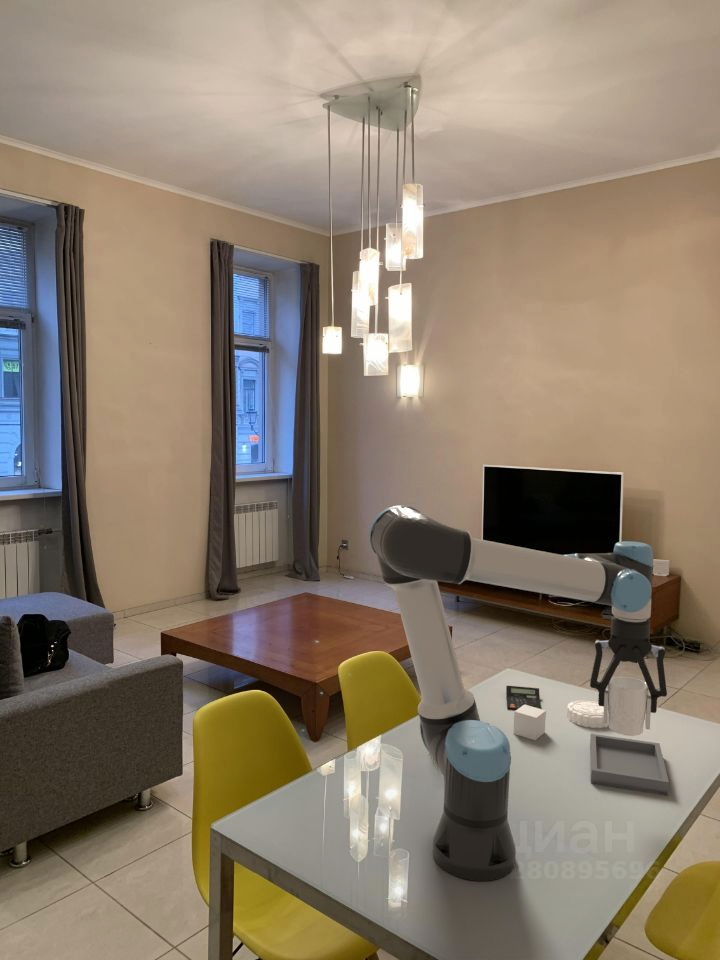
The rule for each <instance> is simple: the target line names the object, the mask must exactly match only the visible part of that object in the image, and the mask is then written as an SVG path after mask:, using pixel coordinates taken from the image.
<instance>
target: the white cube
mask: <svg viewBox="0 0 720 960" xmlns="http://www.w3.org/2000/svg"><path fill="white" fill-rule="evenodd" d="M513 711H514V714H513V715H514V717H513V734H514V735H517V736H519V737H522V738H526V739H529V740H534V741H536V740H537V739H539V738H541V736H543V734H545V733H546V718H547V716H546V715H547V710H545V709H542V708H541V709H539V708H535V707H531V706H528V705H523V706H522V707H520V708H519V709H517V710H513Z"/></svg>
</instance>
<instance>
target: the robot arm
mask: <svg viewBox="0 0 720 960" xmlns="http://www.w3.org/2000/svg"><path fill="white" fill-rule="evenodd" d="M368 537H369V543H370V547H371V550H372V551H373V552H374V553H375V555H376V557H377V560H378V564H379V568H380V573H381V576H382V580H383V582H384V584H385V585H387V586H388V587H389V588H390V587H391V589H393V592H394V593H395V599H396V603H397V606H398V609H399V610H398V611H399V614H400V617H401V618H400V619H401V622H402V625H403V628H404V632H405V636H406V640H407V644H408V649H409V652H410V656H411V659H412V663H413V666H414V667H413V668H414V671H415V674H416V678H417V683H418V687H419V690H420V694H421V697H422V699H421V700H420V701H419V704H418V705H417V712H418V717H419V719H420V721H419V733H420V736H421V741H422V742H423V745H424V747H425V749H426V750H427V751H428V753H429V754H430V755H431V757H432V759H433V761H434V762H435V764H436V766H437V768H438V769H439V771H440V772H441V774H442V776H443V779H444V780H443V781H444V790H443V791H444V792H443V793H444V794H443V811H442V815H441V818H440V820H439V823H438V825H437V827H436V830H435V832H434V836H433V839H432V856H433V858H434V861H435V862H436V864H437V865H438V866H439V867H440V868H441V869H443V870H444V871H445V872H447V873H449V874H451V875H452V876H456V877H458V878H461V879H465V880H469V881H478V882H488V881H494V880H498V879H501V878H503V876H504V877H505V875H506V876H507V875H509V874H510V873H511V872H512V871H513V870H512V869H514V868H515V866H516V858H517V857H516V854H517V851H516V850H517V849H516V845H515V840H514V837H513V835H512V829H511V826H510V824H509V820H508V810H509V795H510V794H509V791H510V775H511V773H510V772H511V764H512V755H511V745H510V741H509V738H508V736H507V735H506V734H505V733H504V732H503V731H502V730H501V729H500V728H499V727H497V726H496V725H490V723H489V722H485V721H483V720H482V721H481V719H480V715H479V709H478V706H477V701H476V698H475V696H474V693H472V692H471V691H470V690H468V689H466V688H465V686H464V683H463V678H462V675H461V671H460V666H459V663H458V659H457V656H456V651H455V647H454V643H453V639H452V635H451V631H450V627H449V623H448V618H447V615H446V612H445V608H444V604H443V599H442V596H441V592H440V587H439V584H438V583H439V582H442V583H450V584H456V585H461V584H462V583H463V582H465V581H472V582H476V583H477V582H478V583H483V584H487V585H488V584H489V585H493V586H501V587H505V588H506V587H507V588H511V589H518V590H521V591H522V590H523V591H528V592H534V593H538V594H539V593H540V594H546V595H551V596H557V597H563V598H567V599H568V598H569V599H574V600H581V601H584V602H585V601H586V602H591V603H595V604H599V605H606V606H611V614H612V616H611V622H610V623H611V624H610V626H611V627H610V636H609V638H608V640H600V639H596V640H595V642H594V647H595V651H596V652H595V657H594V662H593V666H592V670H591V671H592V672H591V675H590V680H589V686H590V688H591V689H595V690H597V691H598V698H597V702H598V704H599V706H604V715H603V723H605V724H607V715H608V684H609V682H610V680H611V678H612V677H614V674H615V672H616V670H617V667H618V666H619V665H620V663H621V662H631V663H632V664H637V663H638V666H639V669H640V671H641V674H642V676H643V679H644V682H646V684H647V687H648V694H647V705H646V713H645V720H644V724H645V730H651V716H652V715H651V714H652V713H653V714H656V712H657V710H658V709H657V708H658V707H657V704H658V698H661V697H663V698H664V697H667V696H668V692H667V691H668V690H667V683H666V674H665V664H664V659H665V656H666V650H665V647H664V646H663V645H659V646H658V645H654V644H652V642H651V641H650V640H651V639H650V638H651V637H650V633H651V620H650V618H651V616H652V615H651V613H652V588H653V587H652V586H653V573H654V572H653V571H654V554H653V553H654V552H653V547H652V546H651V545H650V544H648V543H644V542H640V541H629V540H628V541H626V540H625V541H618V542H616V543H615V544H614V547H613V552H607V553H606V552H605V553H603V552H602V553H577V552H575V553H570V554H560V553H559V554H558V553H554V552H553V553H552V552H549V551H548V552H547V551H544V550H542V551H541V550H536V549H531V548H527V547H521V546H515V545H511V544H506V543H501V542H496V541H490V540H485V539H481V538H480V539H479V538H475V537H473V536H472V534H471V533H470V531H468V530H464V529H458V528H455V527H452V526H449V525H447V524H444V523H441V522H439V521H437V520H435V519H433V518H431V517H430V516H427V515H425V514H423V513H421V511H419V510H418V509H416V508H415V507H412V506H407V505H394V506H390V507H387V508H385V509H383V510H382V511H380V512H379V513H378V514H377V515H376V516H375V518H374V519H373V521H372V523H371V525H370V528H369V535H368ZM608 647H609V649H611V651H612V654H613V656H612V659H611V660H610V662H609V664H608V665H607V668H606V671H605V672H604V674H603V676H602V678H601V680H600V681H598V678H599V673H600V669H601V664H602V659H603V653H604V652H606V650H607V648H608ZM650 651H651V652H652V655H653V657H655V660H656V667H657V678H658V687H659V688H656V687H655V683H654V681H653V679H652V676H651V673H650V671H649V668H648V666H647V664H646V661H645V657H646V656H647V655H648V654H649V653H650ZM514 865H515V866H514ZM513 867H514V868H513ZM511 870H512V871H511ZM509 872H510V873H509ZM508 873H509V874H508Z"/></svg>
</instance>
